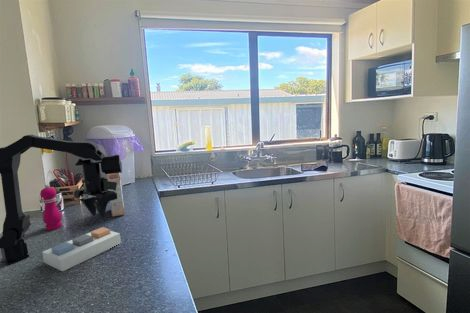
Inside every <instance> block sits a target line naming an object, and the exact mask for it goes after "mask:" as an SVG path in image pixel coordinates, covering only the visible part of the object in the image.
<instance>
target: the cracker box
mask: <svg viewBox="0 0 470 313" xmlns="http://www.w3.org/2000/svg"><path fill="white" fill-rule="evenodd" d="M106 179H107V180H108V181H110V182H117V187H116V190H110V189H108V191H115V192H116V193H117V197H118V198H117V199H115V200H112V201H109V203H110V204H109V205H110V212H111V217H112V218H113V217H114V218H115V217H119V216H124V215H125V205H124V197H123V188H122V187H123V186H122V179H121V173H114V174H106Z"/></svg>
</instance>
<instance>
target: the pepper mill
mask: <svg viewBox="0 0 470 313" xmlns="http://www.w3.org/2000/svg"><path fill="white" fill-rule="evenodd" d="M39 192H40V193H39V194H40V198H42V201H43V202H42V203H43V204H44V213H43V216H42V221H43V223H44V224H46V225H45V230H46V231H54V230H57V229H61V228H62V226H63V222H62V219H63V217H62V216H63V215H62V212H61V211H60V210H59V208H58V207H57V206H58V205H57V203H56V201H57V197H56V195H57V190H56V188H54V187H53V186H50V184H49V183H46V184H45V185H44V188H42V189H41V191H39Z"/></svg>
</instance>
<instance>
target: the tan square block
mask: <svg viewBox="0 0 470 313" xmlns="http://www.w3.org/2000/svg"><path fill="white" fill-rule="evenodd" d="M110 231H111V229H110V228H107V227H103V226H101V227H98V228H97V229H94V230H92V231H91V230H90V232H91V236H92V237H95V238H98V239H99V238H101V237H104V236H106V235H108V234H110Z"/></svg>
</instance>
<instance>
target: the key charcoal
mask: <svg viewBox="0 0 470 313" xmlns="http://www.w3.org/2000/svg"><path fill="white" fill-rule="evenodd" d="M86 234H87V233H85V234H82V235H79V236H77V237H75V238H72V239H71V240H72V242H73V244H74V245H76V246H79V247H81V246H83V245H85V244H88V243H90V242H92V241H93V237H92V236H89V235H86Z"/></svg>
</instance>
